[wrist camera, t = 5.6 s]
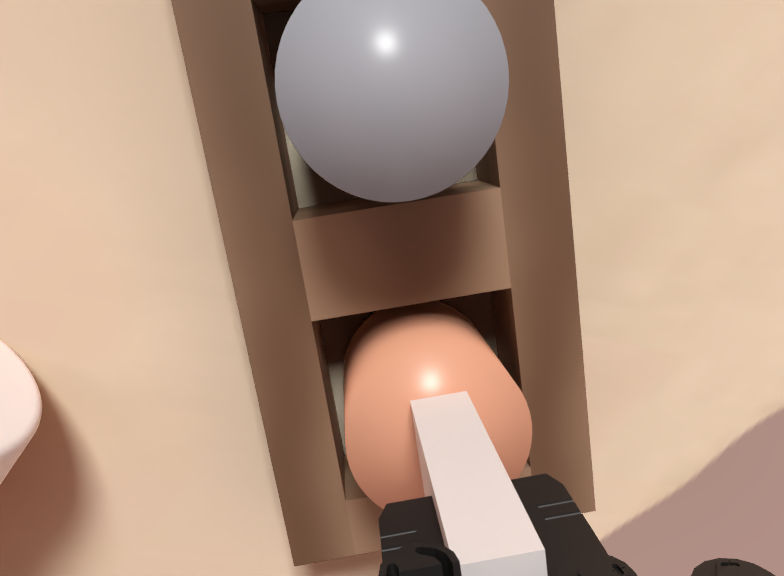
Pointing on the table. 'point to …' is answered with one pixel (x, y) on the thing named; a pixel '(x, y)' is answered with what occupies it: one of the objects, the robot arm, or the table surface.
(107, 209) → the table surface
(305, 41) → the slate button
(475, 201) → the brown wooden slot rack
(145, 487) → the table surface
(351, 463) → the peach rounded piece
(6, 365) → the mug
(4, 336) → the table surface
